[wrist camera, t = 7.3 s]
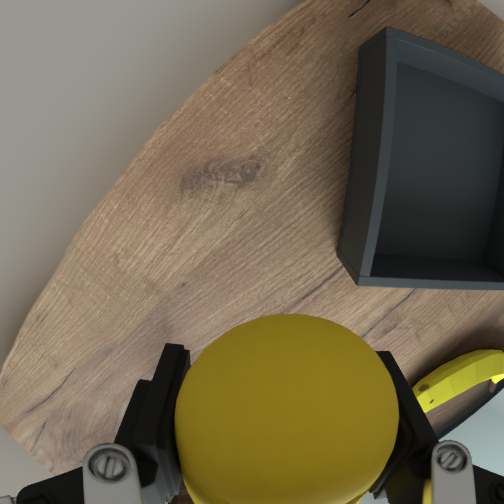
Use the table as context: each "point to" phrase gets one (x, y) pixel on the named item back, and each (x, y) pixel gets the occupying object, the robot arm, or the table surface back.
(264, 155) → the table surface
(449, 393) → the banana
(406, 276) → the crate
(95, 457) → the robot arm
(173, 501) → the wooden sphere
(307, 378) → the yellow rounded tiered object
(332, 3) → the table surface
